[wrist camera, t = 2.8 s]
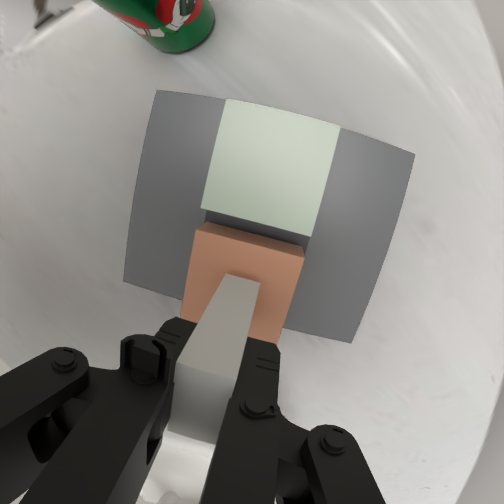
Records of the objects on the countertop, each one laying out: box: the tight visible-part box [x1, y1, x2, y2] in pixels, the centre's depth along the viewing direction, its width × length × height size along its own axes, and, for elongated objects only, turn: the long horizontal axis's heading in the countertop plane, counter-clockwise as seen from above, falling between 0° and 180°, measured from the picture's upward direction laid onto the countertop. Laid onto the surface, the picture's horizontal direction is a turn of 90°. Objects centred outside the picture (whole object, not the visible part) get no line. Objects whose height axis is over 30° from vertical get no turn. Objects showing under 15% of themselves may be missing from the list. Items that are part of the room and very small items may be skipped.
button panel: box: [123, 90, 415, 343], centre depth 19 cm, size 15×12×4 cm
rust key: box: [180, 222, 305, 345], centre depth 16 cm, size 5×5×2 cm
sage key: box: [201, 98, 341, 237], centre depth 14 cm, size 5×5×2 cm
